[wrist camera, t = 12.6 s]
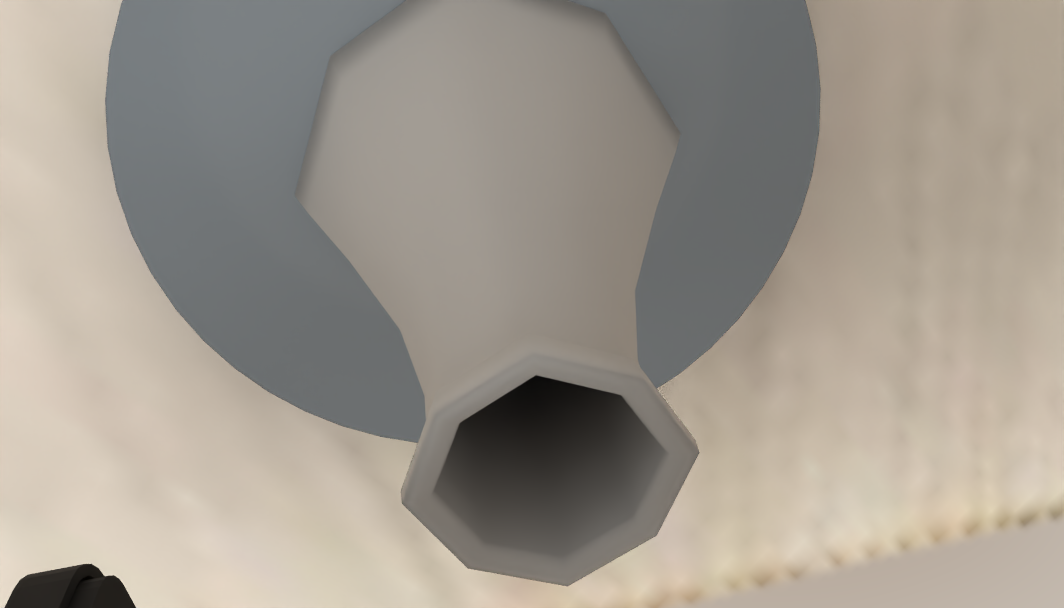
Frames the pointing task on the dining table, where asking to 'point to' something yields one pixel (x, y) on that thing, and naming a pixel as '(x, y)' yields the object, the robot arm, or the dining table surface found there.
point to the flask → (509, 269)
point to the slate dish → (323, 270)
